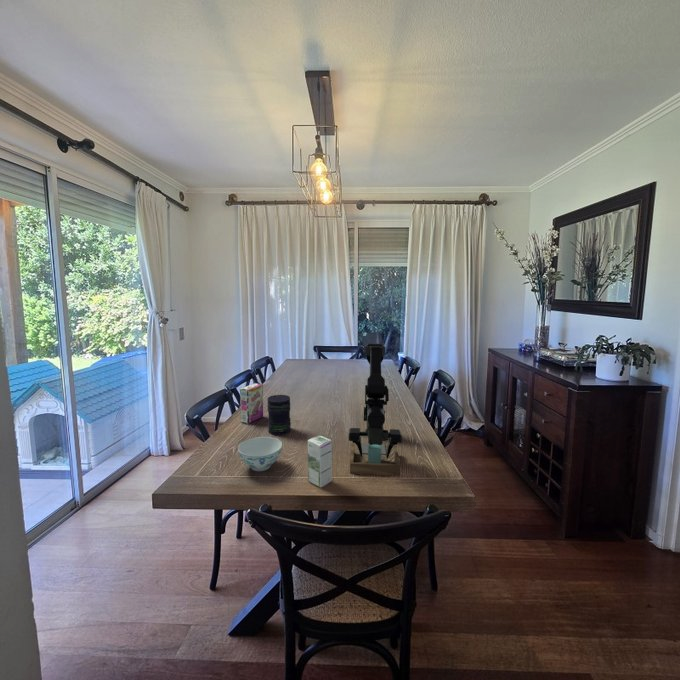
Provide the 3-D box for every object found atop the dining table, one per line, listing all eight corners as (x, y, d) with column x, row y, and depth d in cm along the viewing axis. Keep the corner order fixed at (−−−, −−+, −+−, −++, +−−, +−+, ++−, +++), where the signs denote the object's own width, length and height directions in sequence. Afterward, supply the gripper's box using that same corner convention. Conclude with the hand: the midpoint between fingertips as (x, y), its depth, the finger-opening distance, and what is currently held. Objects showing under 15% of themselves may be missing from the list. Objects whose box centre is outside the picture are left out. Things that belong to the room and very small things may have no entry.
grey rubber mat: (362, 443, 143) (362, 442, 143) (384, 444, 143) (384, 443, 142) (362, 453, 134) (362, 453, 134) (385, 454, 134) (385, 454, 134)
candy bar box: (248, 424, 162) (247, 389, 160) (240, 422, 164) (239, 388, 162) (264, 416, 172) (263, 384, 170) (256, 414, 174) (255, 382, 172)
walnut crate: (351, 452, 135) (351, 444, 135) (396, 454, 134) (396, 445, 133) (349, 473, 120) (350, 463, 120) (400, 475, 119) (400, 465, 119)
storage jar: (295, 431, 155) (294, 398, 153) (276, 437, 148) (275, 403, 146) (282, 424, 162) (281, 393, 160) (263, 430, 155) (262, 397, 153)
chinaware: (232, 463, 126) (232, 443, 125) (271, 452, 135) (271, 433, 134) (248, 482, 114) (247, 460, 113) (289, 469, 123) (289, 448, 122)
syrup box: (332, 481, 115) (332, 439, 113) (319, 488, 111) (319, 445, 109) (320, 474, 119) (320, 434, 117) (307, 482, 115) (306, 439, 113)
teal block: (368, 458, 131) (368, 443, 130) (380, 458, 131) (380, 443, 130) (368, 464, 126) (368, 448, 126) (380, 464, 126) (381, 449, 125)
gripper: (348, 424, 119) (347, 467, 121) (404, 426, 117) (402, 469, 120) (349, 412, 130) (349, 452, 132) (400, 414, 128) (399, 454, 131)
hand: (374, 457), depth 128 cm, fingers open, 9 cm apart
